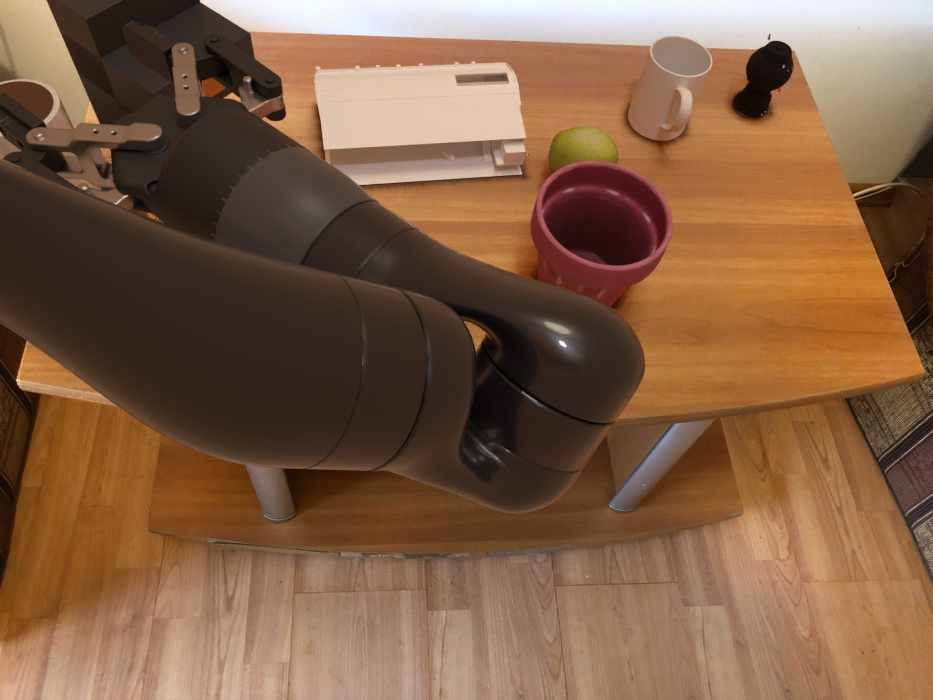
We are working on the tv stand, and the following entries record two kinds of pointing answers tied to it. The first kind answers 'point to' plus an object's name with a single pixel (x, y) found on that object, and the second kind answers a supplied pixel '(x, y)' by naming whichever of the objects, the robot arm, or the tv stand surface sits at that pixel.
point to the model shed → (421, 121)
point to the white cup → (38, 112)
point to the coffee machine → (109, 59)
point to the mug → (669, 87)
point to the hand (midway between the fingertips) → (69, 71)
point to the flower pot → (599, 229)
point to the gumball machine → (764, 78)
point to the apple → (581, 147)
